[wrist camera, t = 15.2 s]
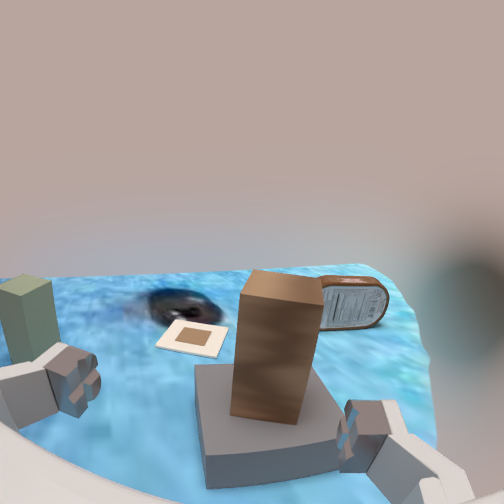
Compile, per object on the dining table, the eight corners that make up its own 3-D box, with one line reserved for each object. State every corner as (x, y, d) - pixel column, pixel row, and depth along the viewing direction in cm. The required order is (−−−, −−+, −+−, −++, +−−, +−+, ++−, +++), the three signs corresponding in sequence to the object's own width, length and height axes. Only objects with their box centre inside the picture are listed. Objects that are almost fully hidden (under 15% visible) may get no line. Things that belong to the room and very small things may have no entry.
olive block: (13, 366, 27) (-6, 286, 24) (37, 348, 31) (23, 273, 29) (41, 380, 26) (21, 296, 24) (64, 359, 31) (51, 280, 28)
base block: (206, 491, 18) (205, 455, 17) (195, 403, 28) (194, 364, 27) (340, 471, 21) (357, 433, 19) (299, 396, 31) (306, 359, 30)
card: (155, 347, 37) (155, 344, 37) (175, 321, 45) (175, 318, 45) (216, 358, 36) (216, 356, 36) (228, 329, 44) (228, 327, 44)
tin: (376, 321, 50) (386, 274, 48) (385, 329, 47) (397, 281, 45) (293, 324, 47) (301, 273, 45) (299, 334, 44) (307, 280, 42)
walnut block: (229, 414, 21) (239, 293, 19) (242, 377, 26) (253, 269, 23) (296, 425, 20) (324, 305, 18) (299, 386, 25) (320, 278, 23)
